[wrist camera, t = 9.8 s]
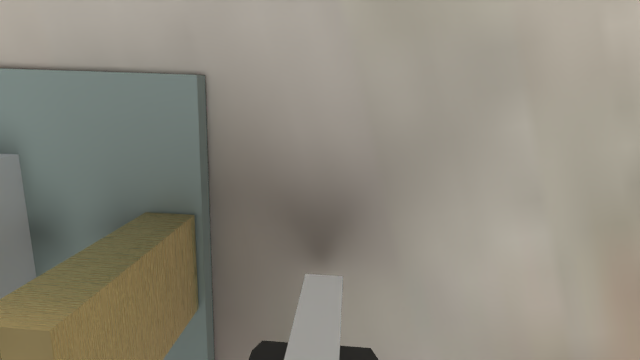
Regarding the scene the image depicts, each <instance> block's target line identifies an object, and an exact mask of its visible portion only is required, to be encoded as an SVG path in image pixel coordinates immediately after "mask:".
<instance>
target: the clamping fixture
mask: <svg viewBox="0 0 640 360" xmlns="http://www.w3.org/2000/svg"><path fill="white" fill-rule="evenodd" d="M145 212H152V213H170V214H188V215H194V216H195V239H196V262H197V286H198V310H197V311H196V313H195V314H194V316H193V317H192V319H191V320H190V321H189V323H188V324H187V326H186V327H185V329H184V330H183V332H182V333H181V334H180V336H179V337H178V339H177V340H176V342H175V343H174V345H173V346H172V347H171V349H170V350H169V352H168V353H167V355H166V356H165V358H164V359H163V360H214V330H213V300H212V270H211V241H210V211H209V181H208V151H207V122H206V92H205V76H204V75H189V74H158V73H127V72H95V71H64V70H33V69H2V68H0V299H1V298H3V297H4V296H6V295H8V294H10V293H11V292H13V291H15V290H16V289H18V288H20V287H21V286H23V285H25V284H26V283H28V282H30V281H31V280H33V279H35V278H36V277H38V276H40V275H41V274H43V273H45V272H46V271H48V270H50V269H51V268H53V267H55V266H56V265H58V264H60V263H62V262H63V261H65V260H67V259H68V258H70V257H72V256H73V255H75V254H77V253H78V252H80V251H82V250H83V249H85V248H87V247H88V246H90V245H92V244H93V243H95V242H97V241H98V240H100V239H102V238H103V237H105V236H107V235H108V234H110V233H112V232H113V231H115V230H117V229H119V228H120V227H122V226H124V225H125V224H127V223H129V222H130V221H132V220H134V219H135V218H137V217H139V216H140V215H142V214H144V213H145Z"/></svg>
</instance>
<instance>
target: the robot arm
mask: <svg viewBox="0 0 640 360" xmlns="http://www.w3.org/2000/svg"><path fill="white" fill-rule="evenodd" d="M342 290H343V276H333V275H319V274H305V278H304V282H303V286H302V290H301V294H300V298H299V302H298V306H297V310H296V314H295V318H294V322H293V326H292V330H291V334H290V338H289V342H288V343H285V342H273V341H262V342H261V343H260V344H258V345H257V346H256V347H255V348H254V349H253V350H252V352H251V355H250V358H249V360H378V358H377V357H376V355H375V354H374V352H373V351H372V349H371V348H361V347H348V346H340V334H341V312H342Z"/></svg>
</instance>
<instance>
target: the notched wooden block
mask: <svg viewBox="0 0 640 360" xmlns="http://www.w3.org/2000/svg"><path fill="white" fill-rule="evenodd" d="M197 310H198V286H197V262H196V239H195V216H194V215H188V214H170V213H152V212H145V213H144V214H142V215H140V216H139V217H137V218H135V219H134V220H132V221H130V222H129V223H127V224H125V225H124V226H122V227H120V228H119V229H117V230H115V231H113V232H112V233H110V234H108V235H107V236H105V237H103V238H102V239H100V240H98V241H97V242H95V243H93V244H92V245H90V246H88V247H87V248H85V249H83V250H82V251H80V252H78V253H77V254H75V255H73V256H72V257H70V258H68V259H67V260H65V261H63V262H62V263H60V264H58V265H56V266H55V267H53V268H51V269H50V270H48V271H46V272H45V273H43V274H41V275H40V276H38V277H36V278H35V279H33V280H31V281H30V282H28V283H26V284H25V285H23V286H21V287H20V288H18V289H16V290H15V291H13V292H11V293H10V294H8V295H6V296H4V297H3V298H1V299H0V360H163V359H164V358H165V356H166V355H167V353H168V352H169V350H170V349H171V347H172V346H173V345H174V343H175V342H176V340H177V339H178V337H179V336H180V334H181V333H182V332H183V330H184V329H185V327H186V326H187V324H188V323H189V321H190V320H191V319H192V317H193V316H194V314H195V313H196V311H197Z"/></svg>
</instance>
